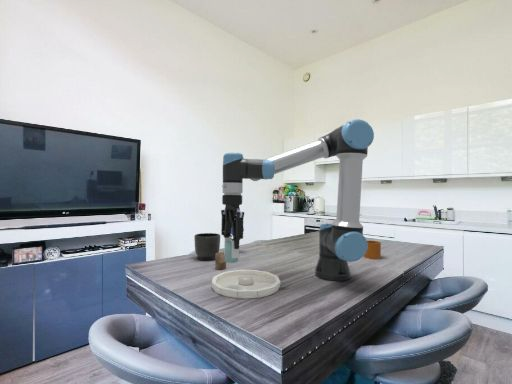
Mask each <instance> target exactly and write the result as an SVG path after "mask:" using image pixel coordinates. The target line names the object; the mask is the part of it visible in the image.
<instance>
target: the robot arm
mask: <svg viewBox="0 0 512 384" xmlns="http://www.w3.org/2000/svg"><path fill="white" fill-rule="evenodd" d="M374 138H375V132H374V129H373V127H372V126H371V125H370V124H369V123H368V121H366V120H363V119H360V118H359V119H358V118H357V119H351V120H349V121H346V122H345V123H344V124H342V125H340V126H339V127H337V128H335V129H334V130H332V131H331V132H329V133H328V134H325V135H323V136H320V137H318V139H317V140H316V141H313V142H310V143H307V144H305V145H302V146H298V147H297V148H294V149H290V150H287V151H284V152H281V153H278V154H276V155H273V156H270V157H267V158H264V159H257V158H256V159H255V158H251V159H250V158H249V159H248V158H244V155H243V153H241V152H226V153H224V154H223V158H222V185H221V187H222V193H223V195H222V197H221V199H222V200H221V201H222V205H224V209H221V211H220V212H221V213H220V214H221V230H220V231H221V234H220V235H221V236H223V238H224V243H223V244H224V245H223V246H224V252H223V253H224V255H225V242H228V241H232V258H238V259H239V257H240V240H242V239H244V231H243V228H244V217H245V212H244V211H241V209H240V206H241V205H242V204H243V191H244V190H243V185H244V184H243V183H244V182H243V179H244V180H251V181H253V182H258V181H259V180H272V179H273V178H274V177H275V175H276V174H280V173H281V172H285V171H287V170H291V169H293V168H296V167H299V166H301V165H305V164H308V163H310V162H314V161H316V160H318V159H322V158H323V159H329V158H331V157H337V158H338V161H339V167H338V169H339V170H338V183H337V184H338V186H337V204H336V219H335V220H334V222H332V223H321V224H320V226H319V230H318V232H319V235H318V237H319V239H318V243H319V244H318V247H319V248H318V249H319V250H318V251H319V253H318V256H319V257H318V259H317V263H316V265H315V268H314V275H315V276H316V277H317V278H318V279H319V278H320V279H322V280H326V281H337V282H338V281H347V280H350V279H351V275H352V274H351V273H352V272H351V270H350V266H349V264H348V262H350V263H353V262H357V261H360V259H362V258H363V257H364V255H365V253H366V251H367V247H368V244H367V241H368V240H367V239H366V237H365V236H364V226H363V225H362V224H361V222H360V218H361V217H360V214H361V212H360V211H361V201H362V200H361V197H362V196H361V195H362V178H363V161H364V160H365V159H366V158H367V157H368V152H369V149H368V148H369V147H370V146H371V145H372V143H373V141H374ZM231 229H232V232H233V235H231Z"/></svg>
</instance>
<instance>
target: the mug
mask: <svg viewBox="0 0 512 384" xmlns="http://www.w3.org/2000/svg"><path fill="white" fill-rule="evenodd" d="M367 244H368V247H367V251H366V253H365V255H364V256H363V257H364V258H365V259H367V258H369V260H380V258H381V257H382V255H381V252H382V248H381V246H382V245H381V244H382V243H381V242H380V241H378V240H367ZM381 259H382V258H381Z"/></svg>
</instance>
